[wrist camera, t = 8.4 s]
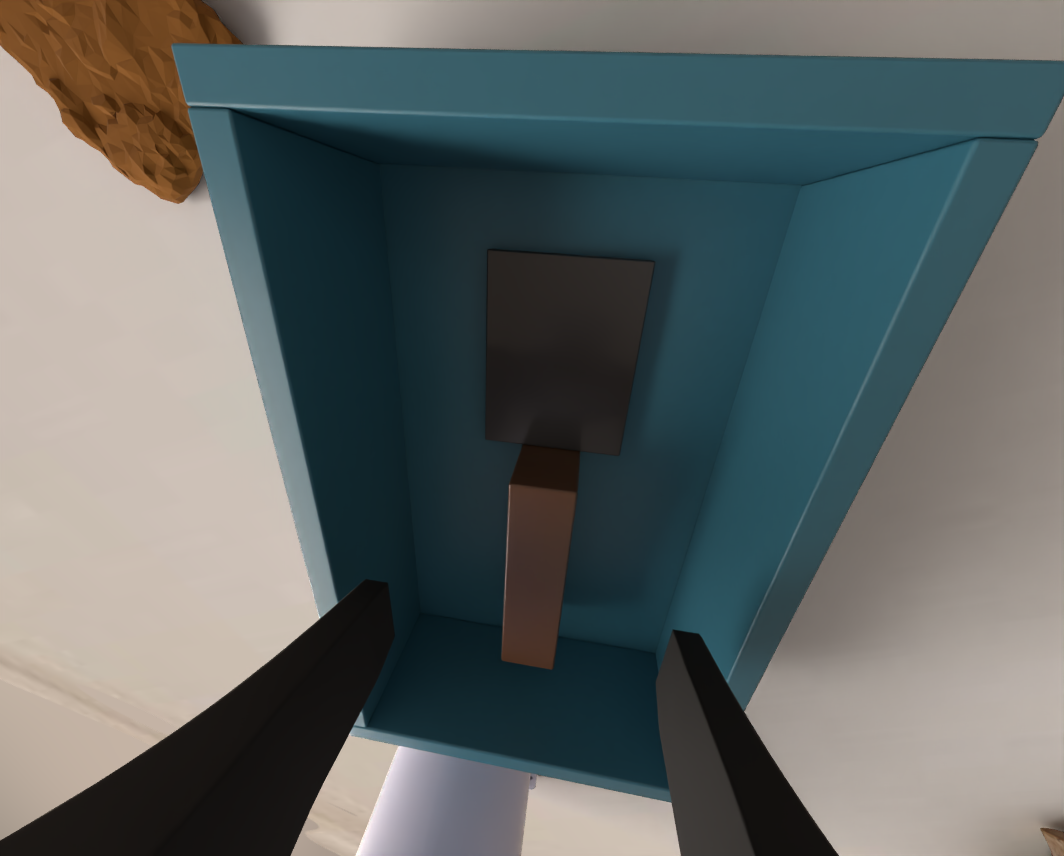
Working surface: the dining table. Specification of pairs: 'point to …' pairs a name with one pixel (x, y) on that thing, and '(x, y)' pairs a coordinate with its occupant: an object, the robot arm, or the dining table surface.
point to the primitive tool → (118, 78)
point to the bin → (664, 356)
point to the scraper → (555, 411)
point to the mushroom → (1054, 841)
